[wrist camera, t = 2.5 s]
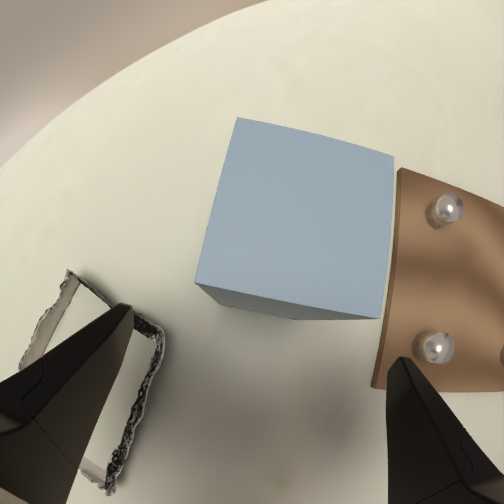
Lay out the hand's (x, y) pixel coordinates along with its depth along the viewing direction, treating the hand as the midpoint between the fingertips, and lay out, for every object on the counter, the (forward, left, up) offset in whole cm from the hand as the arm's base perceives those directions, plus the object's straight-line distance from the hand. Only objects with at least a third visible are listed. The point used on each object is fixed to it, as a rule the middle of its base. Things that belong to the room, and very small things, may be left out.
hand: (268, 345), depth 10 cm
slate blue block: (+3, -3, -10) cm, 11 cm away
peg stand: (-6, -17, -10) cm, 20 cm away
